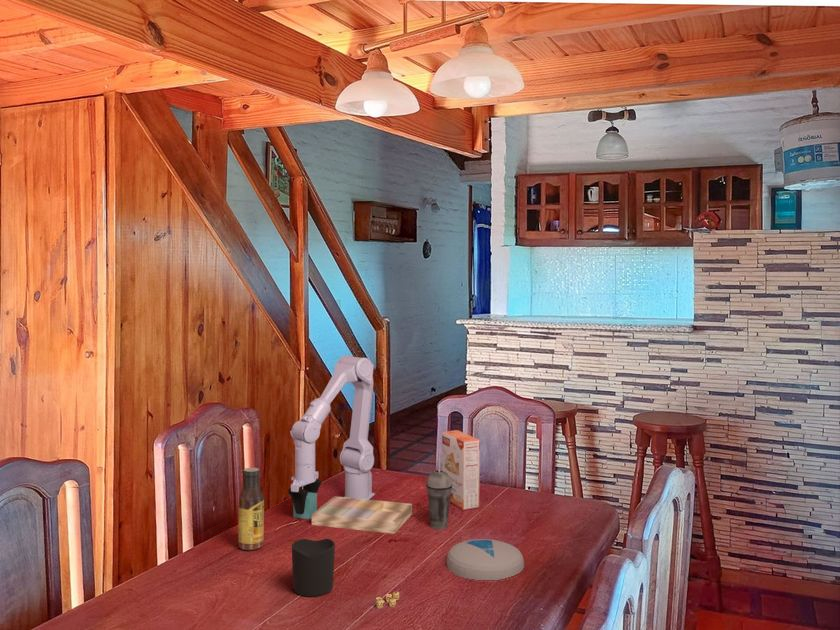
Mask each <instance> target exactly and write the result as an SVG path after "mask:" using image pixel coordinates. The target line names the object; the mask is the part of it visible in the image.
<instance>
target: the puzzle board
mask: <svg viewBox="0 0 840 630" xmlns="http://www.w3.org/2000/svg"><path fill="white" fill-rule="evenodd" d="M412 514H413V504H412V503H406V502H405V503H404V502H398V501H397V502H396V501H395V502H394V501H385V500H376V499H375V500H374V499H369V500H366V499H356V498H346V497H344V496H337V495H335V496H332V497H331V498H330V499H329V500H328V501H327V502H325V503H323V504H322V505H321V506H320V507H319V508H317V510H316V511H315V512H314V513H312V518H311V525H313V526H321V527H329V528H337V529H347V530H356V531H357V530H358V531H364V532H375V533H381V534H382V533H383V534H393V535H395V534H396V533H397V532H398V531H399V529H400V528H401V527H402V526H404V524H405V523H406V522H407V520H409V518H410V517H411V516H412Z"/></svg>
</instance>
